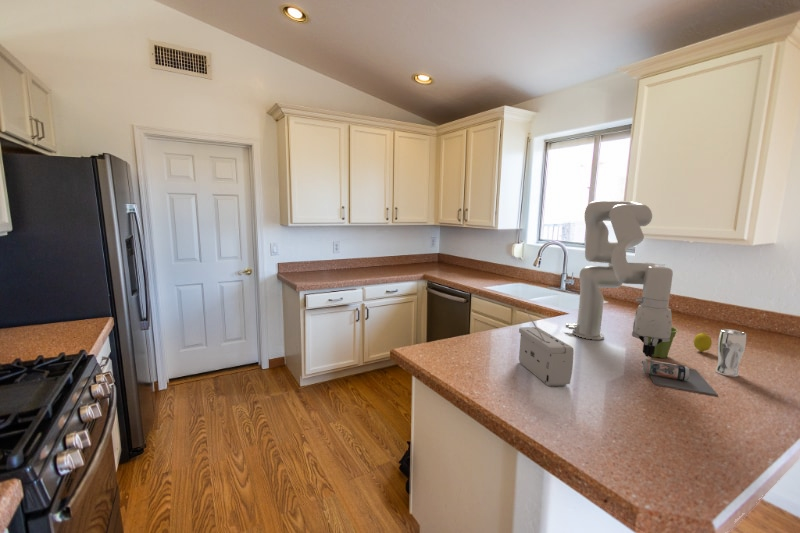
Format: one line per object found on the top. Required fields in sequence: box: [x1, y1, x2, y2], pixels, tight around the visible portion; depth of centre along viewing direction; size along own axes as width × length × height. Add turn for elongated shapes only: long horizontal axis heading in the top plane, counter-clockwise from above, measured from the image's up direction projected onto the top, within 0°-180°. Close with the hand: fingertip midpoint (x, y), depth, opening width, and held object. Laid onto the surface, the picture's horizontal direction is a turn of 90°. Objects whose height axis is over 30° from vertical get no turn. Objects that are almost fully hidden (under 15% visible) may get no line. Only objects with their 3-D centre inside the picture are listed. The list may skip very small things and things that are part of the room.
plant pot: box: [648, 326, 679, 359], centre depth 141 cm, size 12×12×11 cm
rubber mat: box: [641, 360, 719, 397], centre depth 121 cm, size 16×20×1 cm
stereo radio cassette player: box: [518, 309, 575, 387], centre depth 120 cm, size 21×8×20 cm, turn 9°
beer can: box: [642, 358, 690, 381], centre depth 120 cm, size 5×5×12 cm
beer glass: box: [714, 328, 747, 378], centre depth 125 cm, size 7×7×15 cm
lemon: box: [693, 332, 712, 353], centre depth 146 cm, size 6×6×8 cm
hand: (647, 355), depth 124 cm, fingers closed
